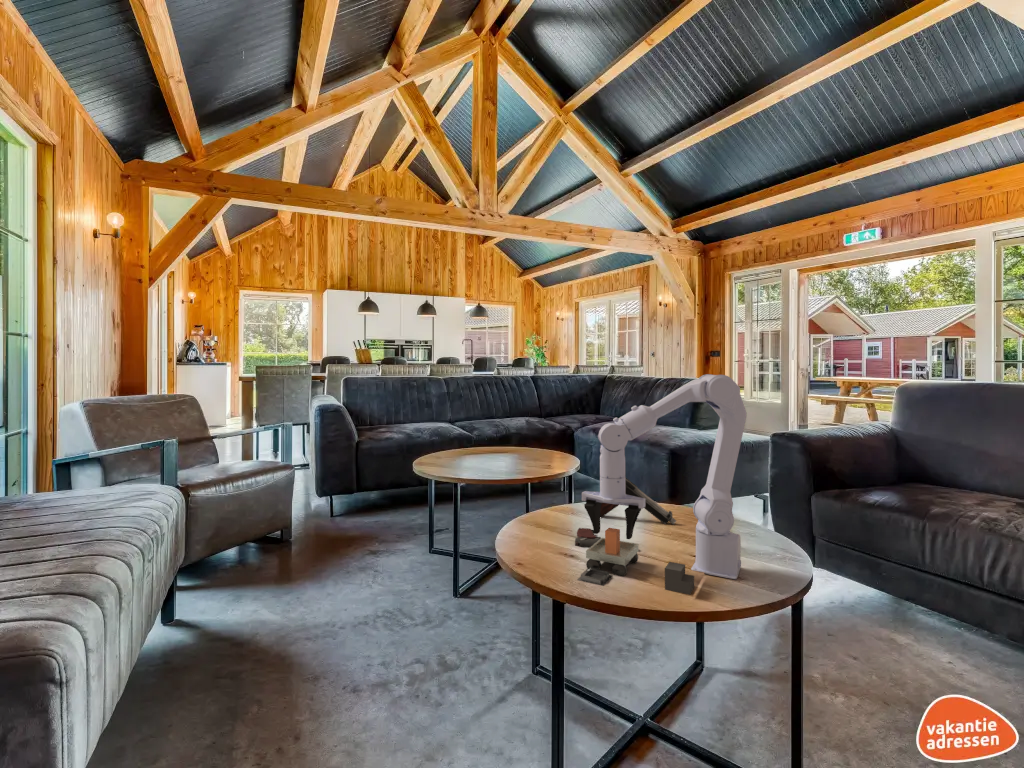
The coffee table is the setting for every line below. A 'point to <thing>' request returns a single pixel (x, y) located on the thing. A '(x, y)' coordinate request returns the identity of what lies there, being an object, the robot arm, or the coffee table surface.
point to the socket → (595, 576)
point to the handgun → (649, 504)
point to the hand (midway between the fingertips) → (612, 535)
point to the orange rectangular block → (612, 540)
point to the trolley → (612, 556)
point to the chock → (678, 579)
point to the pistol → (586, 538)
